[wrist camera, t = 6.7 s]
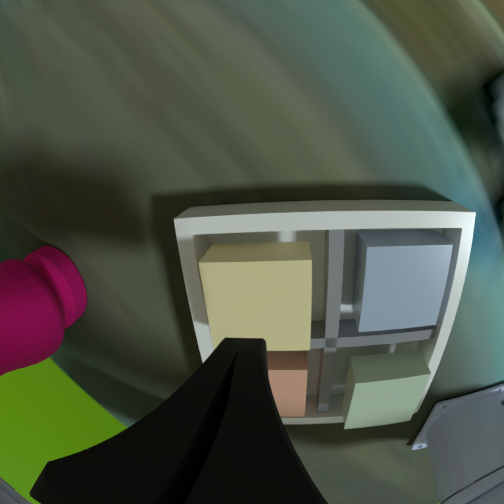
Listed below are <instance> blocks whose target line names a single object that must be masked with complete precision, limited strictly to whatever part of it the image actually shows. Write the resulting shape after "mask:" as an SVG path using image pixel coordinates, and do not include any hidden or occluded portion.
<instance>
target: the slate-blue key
mask: <svg viewBox="0 0 504 504" xmlns="http://www.w3.org/2000/svg"><path fill="white" fill-rule="evenodd" d="M452 247H453V244H451V243H450V242H449V241H447V240H446V239H445V238H443V237H442V236H441V235H439V234H438V233H437V232H435V231H434V230H432V231H362V232H357V238H356V259H355V275H354V288H353V299H352V312H353V315H354V319H355V322H356V326H357V329H358V332H368V331H381V330H392V329H403V328H412V327H421V326H430V325H436V322H437V318H438V315H439V311H440V307H441V303H442V299H443V295H444V290H445V286H446V281H447V276H448V271H449V265H450V260H451V254H452Z"/></svg>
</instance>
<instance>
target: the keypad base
mask: <svg viewBox="0 0 504 504" xmlns="http://www.w3.org/2000/svg"><path fill="white" fill-rule="evenodd" d="M475 214H476V212H474V211H472V210H470V209H468V208H466V207H464V206H462V205H460V204H458V203H456V202H453V201H428V200H313V201H283V202H261V203H242V204H226V205H211V206H198V207H190V208H188V209H187V210H186V211H184V212H183V213H181V214H180V215H178V216H177V217H176V218H174V225H175V231H176V237H177V243H178V249H179V255H180V260H181V266H182V271H183V276H184V281H185V286H186V291H187V296H188V301H189V306H190V311H191V315H192V320H193V324H194V329H195V333H196V337H197V342H198V346H199V350H200V354H201V358H202V362H204V361H205V360H206V359H207V358H208V357H209V356H210V354H211V353H212V352H213V351H214V350H215V349H214V345H213V340H212V335H211V330H210V325H209V320H208V314H207V309H206V303H205V298H204V292H203V286H202V281H201V275H200V269H199V261H200V260H201V259H202V257H203V256H204V255H205V253H206V252H207V251H208V249H209V248H210V247H211V245H212V244H233V243H262V242H294V241H309V245H310V251H311V258H312V303H311V337H310V350H307V365H308V372H307V389H306V404H305V416H299V417H282V416H280V417H281V420H282V422H283V424H324V423H341V422H343V414H342V405H341V403H342V399H343V394H344V389H345V383H346V378H347V373H348V367H349V361H350V356H361V355H373V354H384V353H393V352H402V351H410V350H418V349H420V351H421V353H422V355H423V357H424V359H425V361H426V363H427V365H428V367H429V370H430V372H431V375H430V378H429V380H428V383H427V385H426V387H425V390H424V392H423V394H422V396H421V399H420V401H419V403H418V405H417V407H416V409H415V411H414V413H417V412H418V410H419V408H420V406H421V404H422V402H423V400H424V398H425V395H426V393H427V391H428V389H429V386H430V384H431V382H432V380H433V377H434V375H435V372H436V370H437V367H438V365H439V362H440V360H441V357H442V354H443V352H444V349H445V346H446V343H447V340H448V337H449V334H450V331H451V328H452V325H453V322H454V318H455V315H456V312H457V308H458V304H459V301H460V297H461V293H462V289H463V285H464V280H465V276H466V271H467V266H468V261H469V256H470V250H471V244H472V237H473V230H474V223H475ZM432 230H434V231H435V232H437V233H438V234H439V235H441V236H442V237H443V238H445V239H446V240H447V241H449V242H450V243H451V244H453V247H452V254H451V260H450V265H449V271H448V276H447V281H446V286H445V290H444V295H443V299H442V303H441V307H440V311H439V315H438V318H437V322H436V325H430V326H421V327H412V328H403V329H392V330H381V331H368V332H358V329H357V326H356V322H355V319H354V315H353V312H352V299H353V288H354V275H355V259H356V238H357V232H362V231H432Z"/></svg>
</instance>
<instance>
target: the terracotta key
mask: <svg viewBox="0 0 504 504" xmlns="http://www.w3.org/2000/svg"><path fill="white" fill-rule="evenodd" d="M267 361H268V375H269V382H270V386H271V390H272V393H273V397H274V400H275V403H276V406H277V409H278V412H279V414H280V416H282V417H299V416H305V404H306V389H307V372H308V365H307V350H302V351H267Z"/></svg>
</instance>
